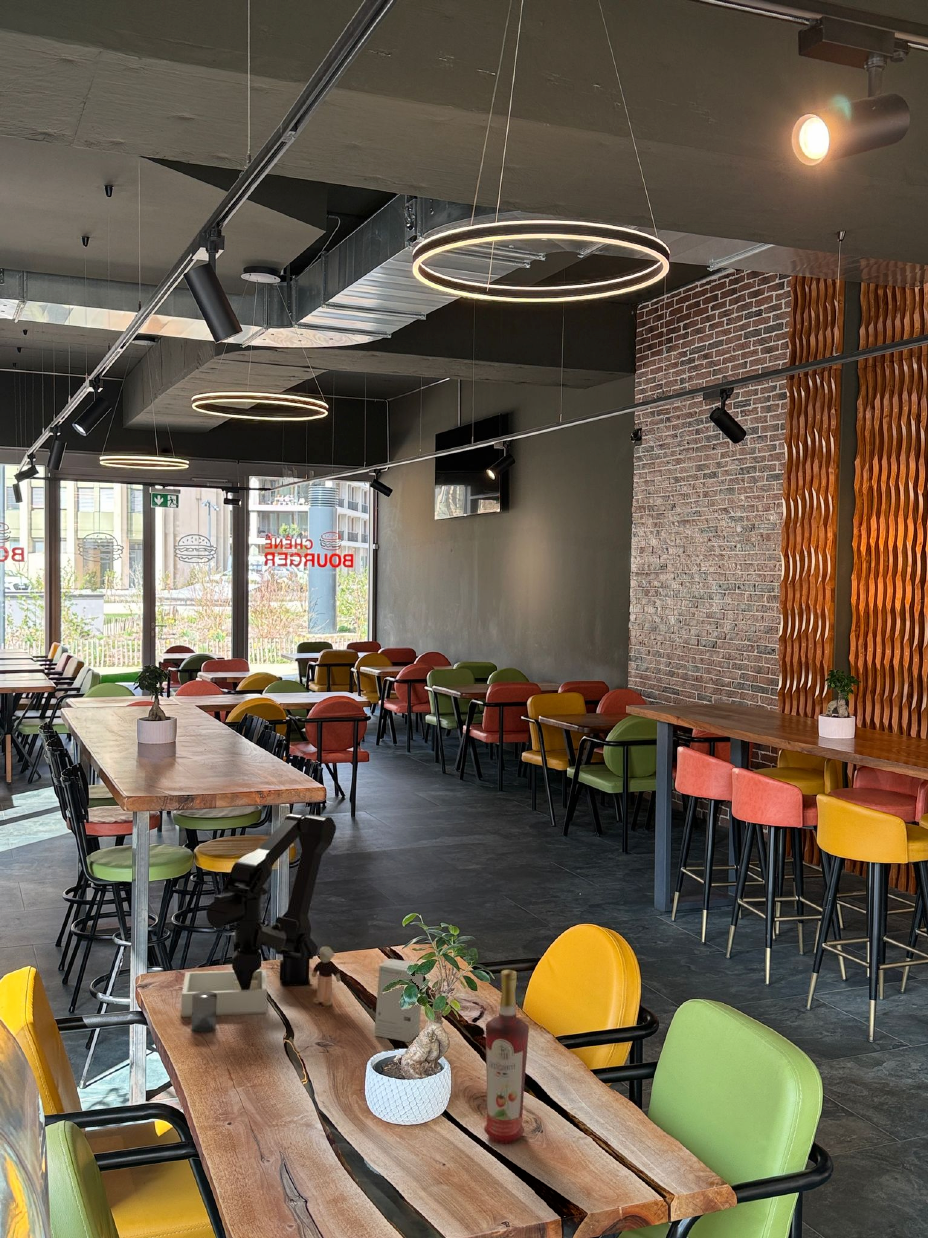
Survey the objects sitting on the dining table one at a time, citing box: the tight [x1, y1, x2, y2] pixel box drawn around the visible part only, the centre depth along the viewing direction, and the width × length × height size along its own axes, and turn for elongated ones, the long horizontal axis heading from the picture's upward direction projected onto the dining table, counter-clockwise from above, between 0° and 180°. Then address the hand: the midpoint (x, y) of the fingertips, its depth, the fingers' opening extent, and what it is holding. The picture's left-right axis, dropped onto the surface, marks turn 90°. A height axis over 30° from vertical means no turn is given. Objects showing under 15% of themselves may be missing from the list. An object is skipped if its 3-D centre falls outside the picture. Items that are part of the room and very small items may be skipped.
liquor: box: [483, 969, 530, 1144], centre depth 185 cm, size 7×7×28 cm
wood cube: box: [234, 974, 258, 990], centre depth 243 cm, size 5×5×5 cm
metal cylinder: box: [190, 991, 217, 1034], centre depth 228 cm, size 5×5×7 cm
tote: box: [180, 969, 268, 1018], centre depth 242 cm, size 18×14×5 cm
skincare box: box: [374, 958, 424, 1043], centre depth 228 cm, size 8×6×15 cm
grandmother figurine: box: [311, 946, 342, 1006], centre depth 245 cm, size 8×4×13 cm, turn 73°
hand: (246, 987), depth 243 cm, fingers open, 9 cm apart
